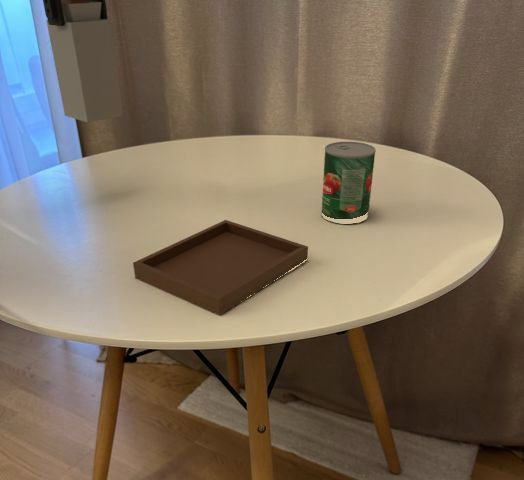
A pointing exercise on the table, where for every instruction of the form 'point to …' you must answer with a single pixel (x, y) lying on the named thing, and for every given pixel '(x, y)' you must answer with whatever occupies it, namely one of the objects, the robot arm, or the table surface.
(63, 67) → the perfume bottle
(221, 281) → the tray
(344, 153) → the canned tomato
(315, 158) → the table surface
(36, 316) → the table surface
